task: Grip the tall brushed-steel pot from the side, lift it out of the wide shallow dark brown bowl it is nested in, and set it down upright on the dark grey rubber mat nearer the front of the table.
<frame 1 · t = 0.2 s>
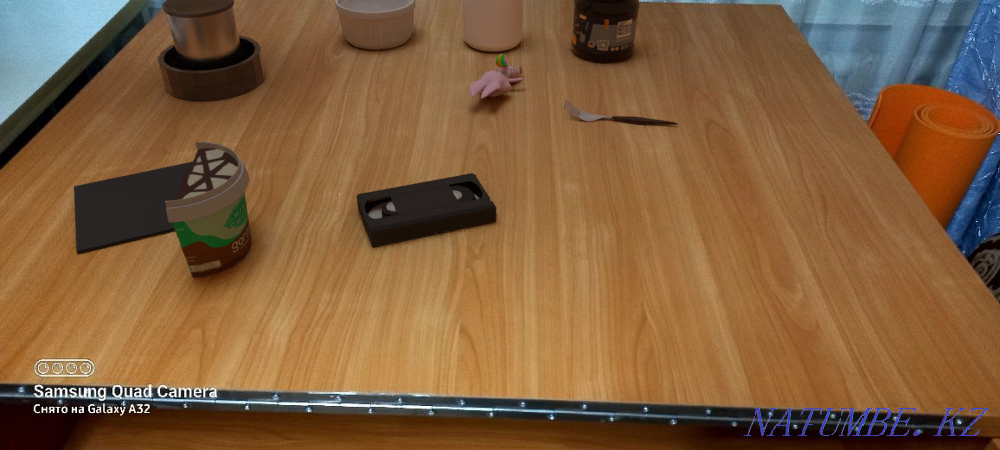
rabbit figure: (496, 94, 111), on the table
vhs tape: (426, 216, 85), on the table
food container: (233, 249, 80), on the table
cup: (492, 43, 127), on the table
supplement container: (601, 52, 124), on the table
small pot: (216, 79, 112), point 1 cm above the table, touching shallow dark brown bowl
ramekin: (379, 39, 128), on the table
fork: (619, 122, 104), on the table
shallow dark brown bowl: (217, 83, 113), on the table
mat: (142, 204, 86), on the table
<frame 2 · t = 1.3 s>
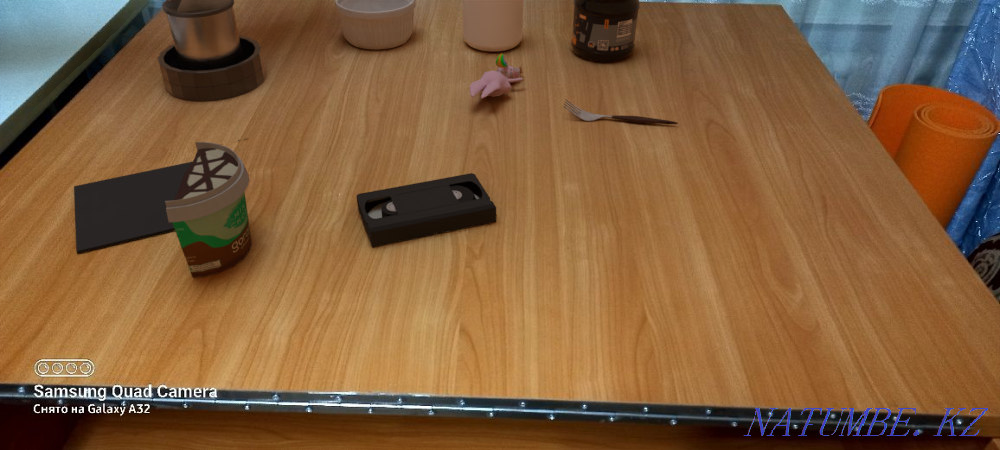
nothing on the table moved.
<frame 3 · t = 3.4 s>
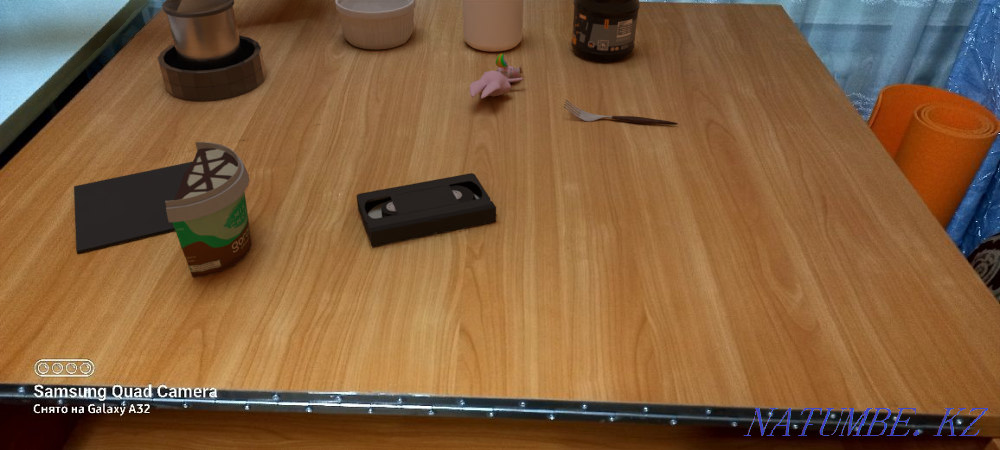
nothing on the table moved.
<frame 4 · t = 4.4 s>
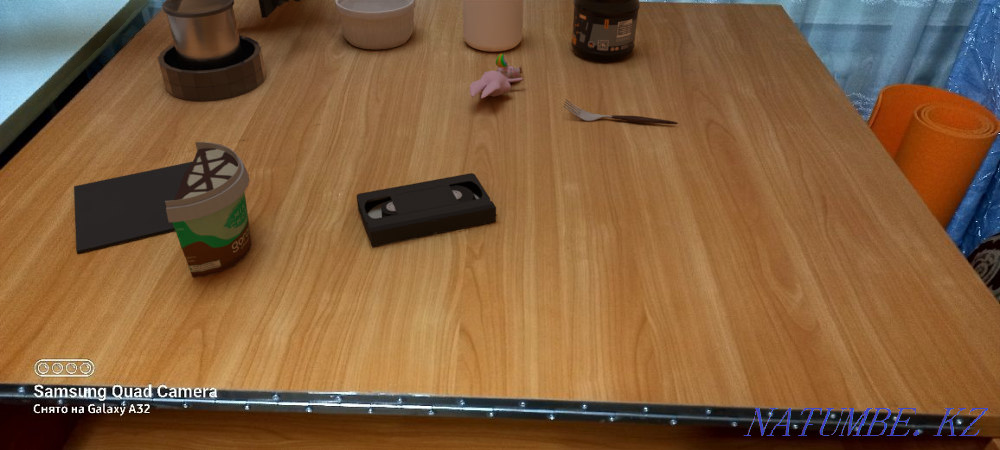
hand: (218, 7, 111), 10 cm above the table, tool horizontal, fingers open, 13 cm apart
nothing on the table moved.
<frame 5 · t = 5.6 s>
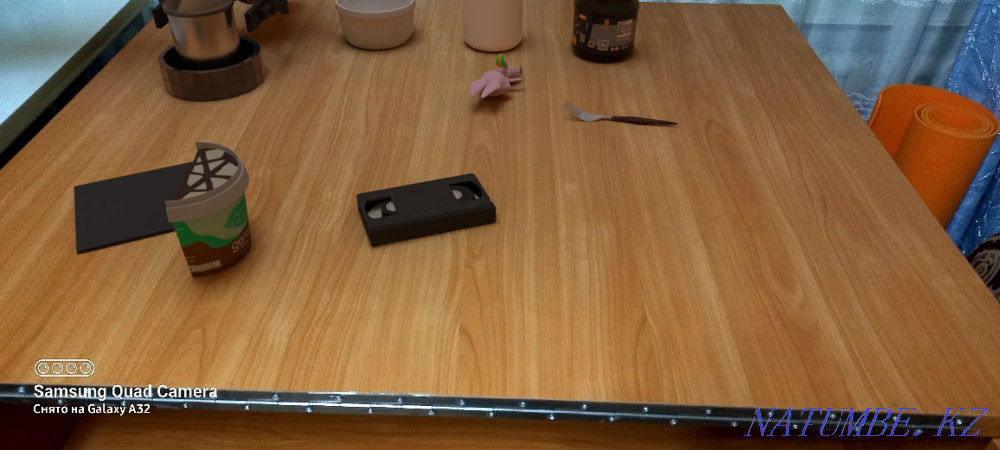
hand: (202, 21, 107), 10 cm above the table, tool horizontal, fingers open, 13 cm apart
nothing on the table moved.
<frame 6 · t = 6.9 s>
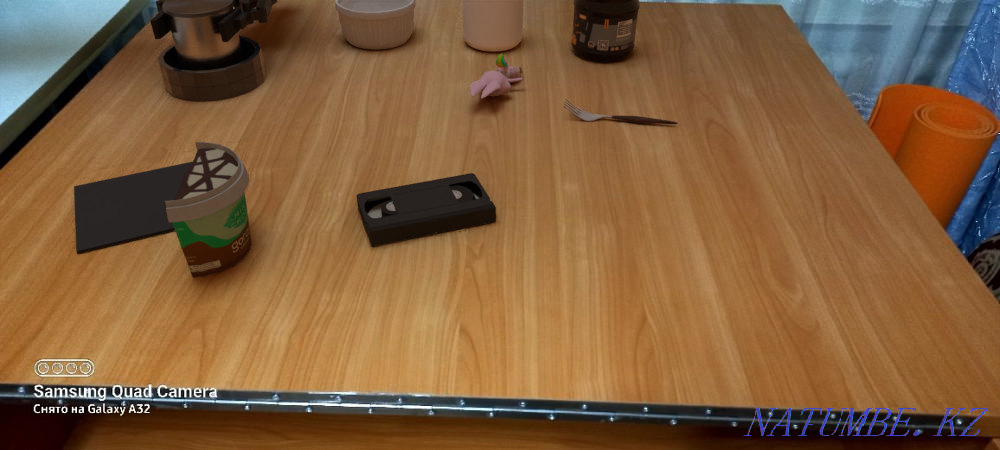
hand: (188, 31, 103), 10 cm above the table, tool horizontal, fingers closed on small pot, 9 cm apart
small pot: (216, 79, 112), point 1 cm above the table, touching shallow dark brown bowl, gripper
everything else where it was.
when the fingers open (10 cm above the table, at t = 18.9 s): small pot stays where it is, resting on mat.
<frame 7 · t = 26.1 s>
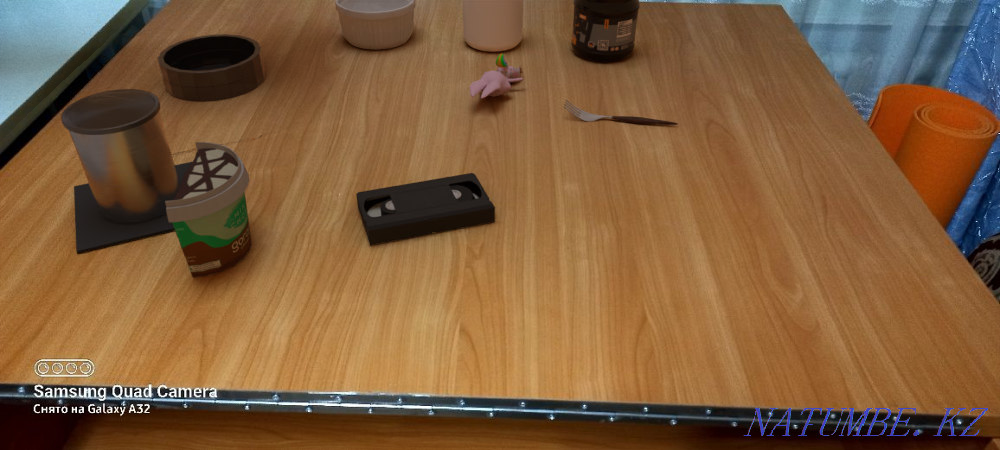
small pot: (141, 201, 86), resting on mat
everything else where it was.
at the end: small pot inside the target area on the mat (0.0 cm from its centre), point 0.4 cm above the mat's base; small pot tilted 0°; small pot touching mat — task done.
